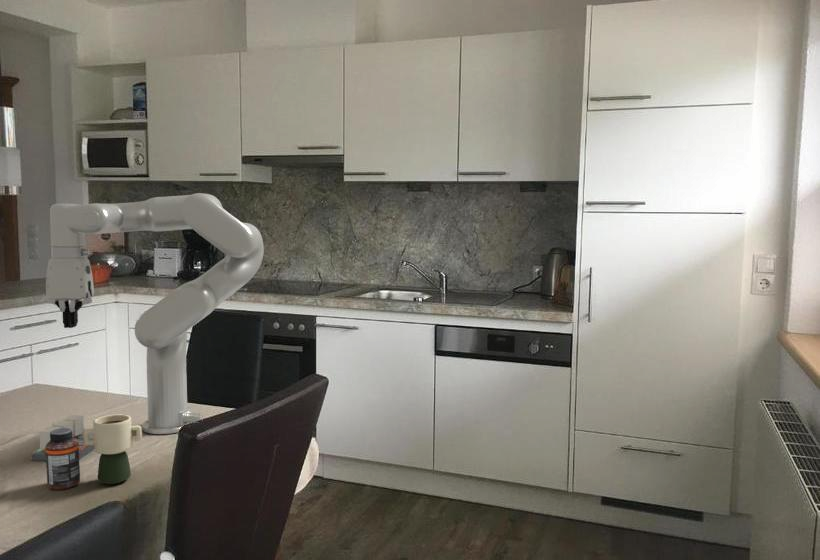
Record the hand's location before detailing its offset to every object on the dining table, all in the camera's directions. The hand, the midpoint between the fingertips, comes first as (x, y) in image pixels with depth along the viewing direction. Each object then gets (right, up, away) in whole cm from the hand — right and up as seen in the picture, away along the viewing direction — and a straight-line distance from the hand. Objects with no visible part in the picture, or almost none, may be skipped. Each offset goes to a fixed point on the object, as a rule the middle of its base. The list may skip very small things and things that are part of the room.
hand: (70, 326), depth 170 cm
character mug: (+24, -30, -30) cm, 49 cm away
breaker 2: (+4, -25, -7) cm, 26 cm away
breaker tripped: (+4, -26, -16) cm, 31 cm away
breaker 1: (+4, -26, -12) cm, 28 cm away
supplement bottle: (+15, -30, -33) cm, 47 cm away
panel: (+7, -28, -12) cm, 31 cm away
